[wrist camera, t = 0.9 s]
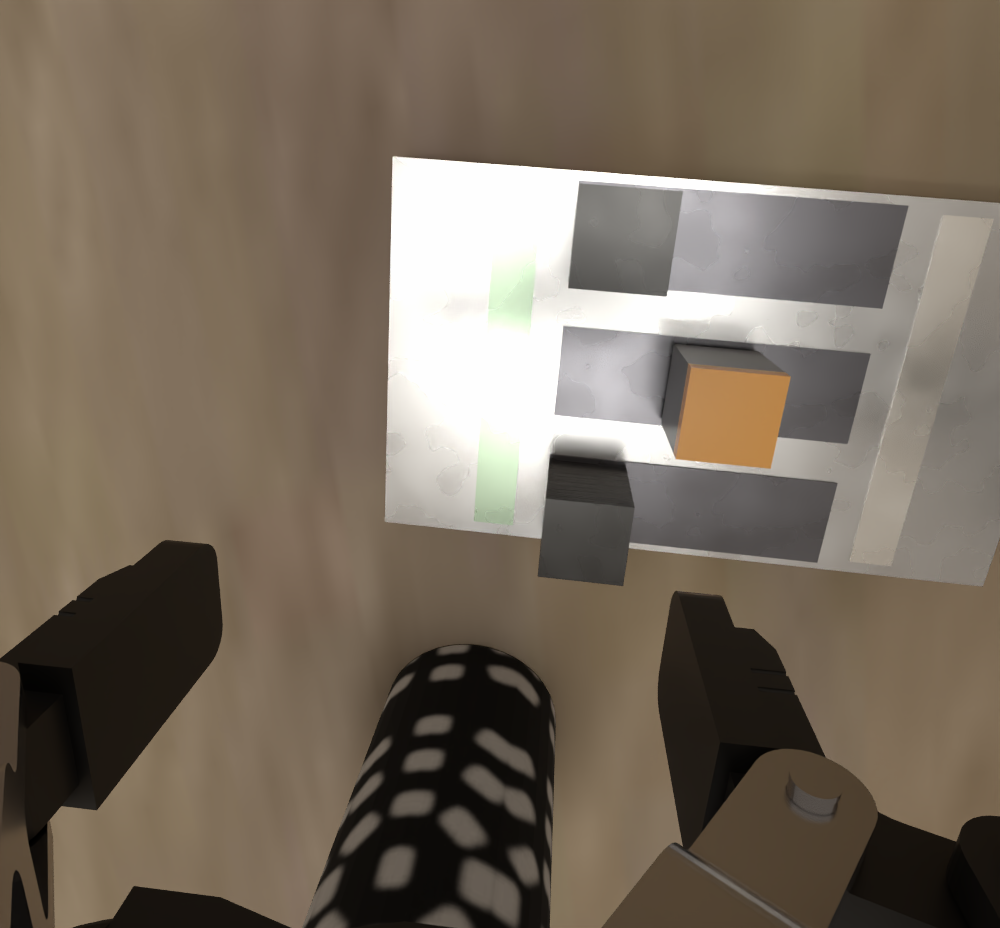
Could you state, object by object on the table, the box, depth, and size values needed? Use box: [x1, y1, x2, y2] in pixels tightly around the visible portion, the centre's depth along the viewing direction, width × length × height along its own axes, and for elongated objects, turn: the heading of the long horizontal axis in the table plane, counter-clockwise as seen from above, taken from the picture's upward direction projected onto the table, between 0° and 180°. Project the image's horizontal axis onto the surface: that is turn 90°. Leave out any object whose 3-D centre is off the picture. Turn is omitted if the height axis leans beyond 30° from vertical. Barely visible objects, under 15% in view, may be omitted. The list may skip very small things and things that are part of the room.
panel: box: [385, 157, 1000, 587], centre depth 26 cm, size 24×14×6 cm, turn 86°
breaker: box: [661, 344, 791, 469], centre depth 24 cm, size 3×3×4 cm
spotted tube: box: [302, 645, 556, 928], centre depth 26 cm, size 8×8×20 cm
